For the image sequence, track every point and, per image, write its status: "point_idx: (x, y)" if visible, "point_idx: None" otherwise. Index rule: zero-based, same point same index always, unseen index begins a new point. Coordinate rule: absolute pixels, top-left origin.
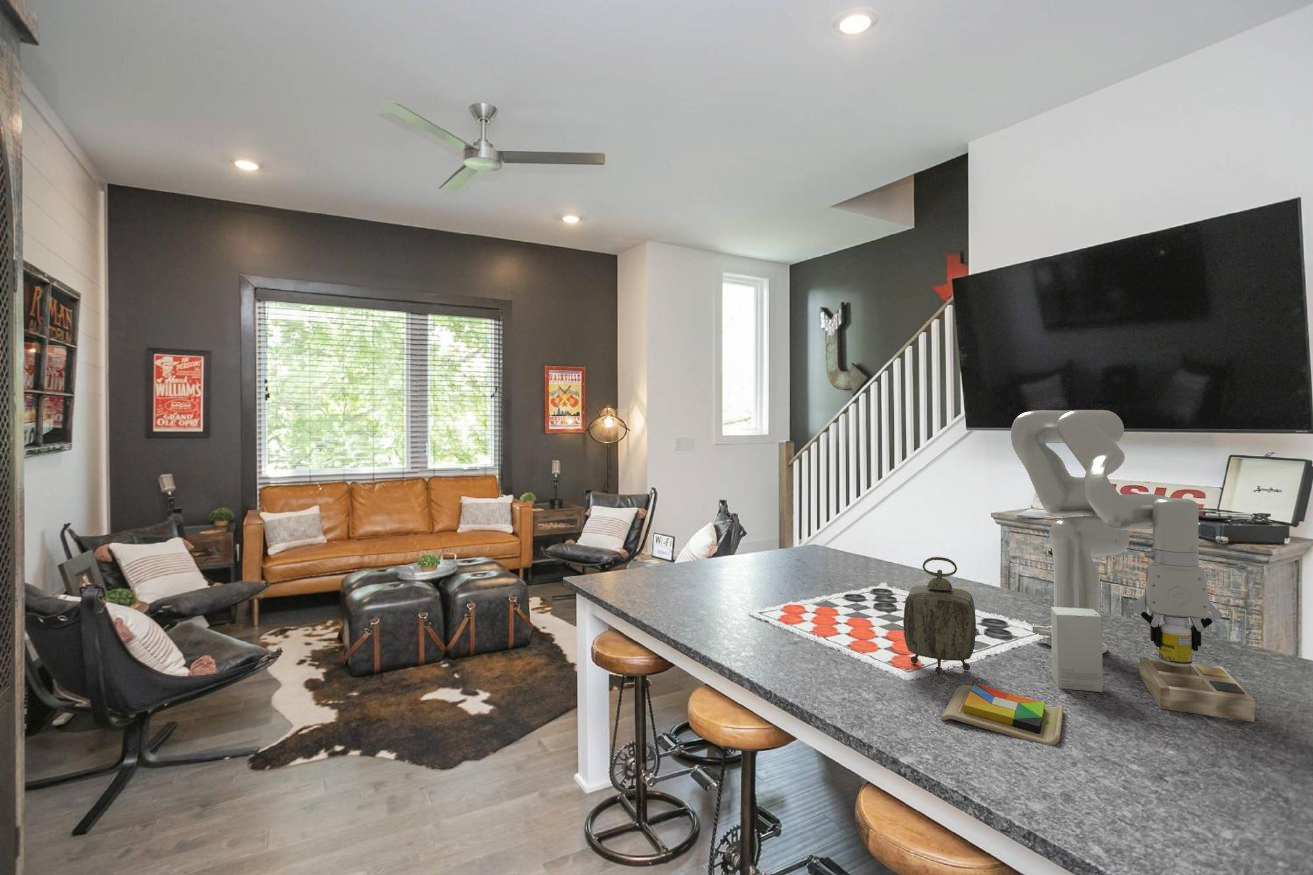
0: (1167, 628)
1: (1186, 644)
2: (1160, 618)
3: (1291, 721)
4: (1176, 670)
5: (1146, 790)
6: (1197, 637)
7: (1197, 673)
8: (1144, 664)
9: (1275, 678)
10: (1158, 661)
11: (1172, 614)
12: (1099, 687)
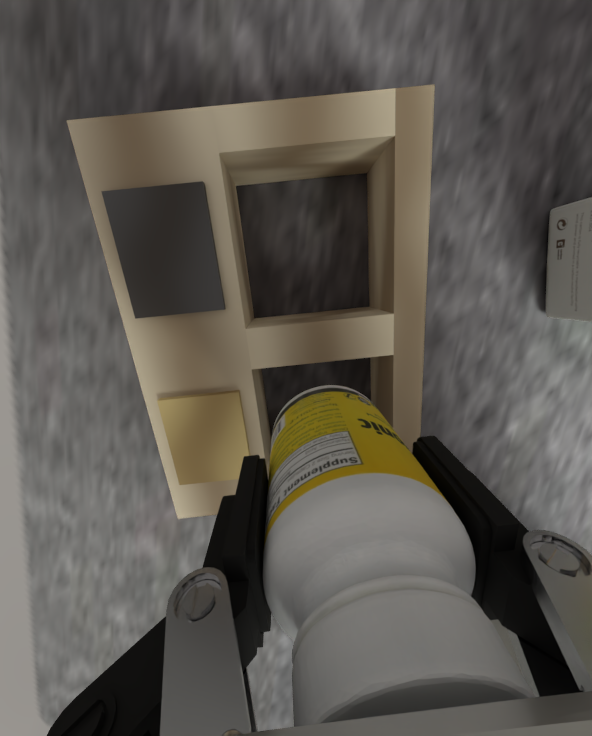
0: (447, 528)
1: (301, 449)
2: (571, 637)
3: (29, 243)
4: None
5: None
6: (233, 513)
7: (257, 405)
8: (419, 419)
9: (82, 593)
10: None
11: (569, 724)
12: (576, 201)
